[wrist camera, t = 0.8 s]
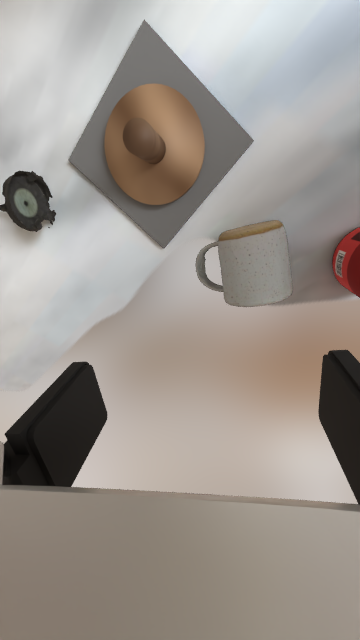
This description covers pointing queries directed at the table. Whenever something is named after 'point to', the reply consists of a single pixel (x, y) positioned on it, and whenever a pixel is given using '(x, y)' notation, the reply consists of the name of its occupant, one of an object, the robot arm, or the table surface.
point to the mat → (218, 125)
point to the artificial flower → (27, 200)
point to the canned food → (348, 262)
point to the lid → (154, 144)
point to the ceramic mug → (251, 265)
